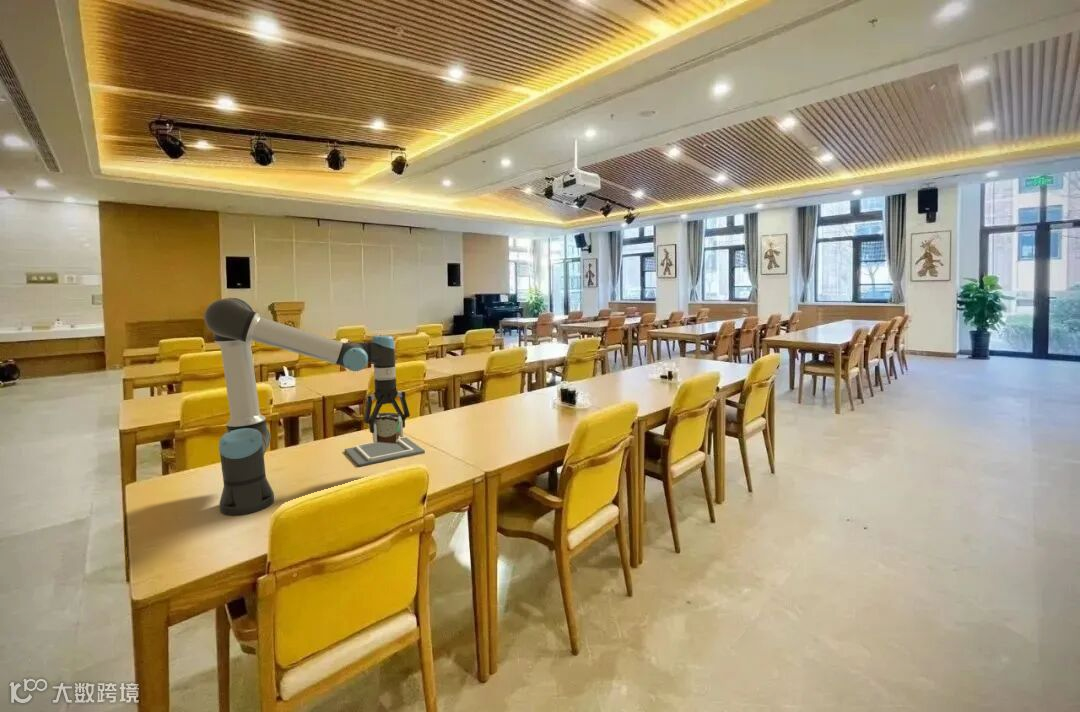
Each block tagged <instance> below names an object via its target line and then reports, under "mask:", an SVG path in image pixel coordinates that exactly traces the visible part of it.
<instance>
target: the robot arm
mask: <svg viewBox="0 0 1080 712" xmlns="http://www.w3.org/2000/svg"><path fill="white" fill-rule="evenodd" d="M204 323H205V325H206V327H207V329H208V330H209V331H210V332H212V335H213V340H214V343H215V344H217V345H219V347H220V352H221V358H222V365H223V372H224V374H223V375H224V381H225V388H226V393H227V402H228V409H229V415H230V419H229V420H228V421H227V422H226V424H225V425H226V433H224V434H223V435H222V436H221V437H220V439H219V440H218V442H219V443H218V444H219V445H218V451H219V455H220V464H221V465H220V466H221V472H222V473H221V474H222V480H223V488H222V492H221V496H220V500H219V511H220V513H221V514H223V515H225V516H240V515H247V514H252V513H255V512H259V511H261V510H263V509H266V508H267V507H269V506H271V505H272V504H273V503H274V502H275V500H274V499H275V492H274V491H273V489H272V486H271V484H270V482H269V481H268V479H267V474H266V464H265V454H266V452H267V450H268V448H269V446H270V442H271V433H270V430H269V428H268V425H267V418H266V416H265V415H263V414H261V413H260V412H261V411H260V403H259V402H260V401H259V395H258V387H257V382H256V381H257V380H256V373H255V367H254V366H255V365H254V359H253V358H254V357H253V352H252V345H251V344H252V343H253V342H257V343H259V344H260V343H261V344H263V345H265V346H266V345H267V346H271V347H274V348H278V349H281V350H285V351H288V352H292V353H296V354H299V355H301V356H305V357H309V358H313V359H316V360H320V361H323V362H327V363H330V364H333V365H337V366H340V367H344V368H345V369H348V371H351V372H359V371H362V370H364V369H365V368H366V366H367V365H368V364H371V363H372V364H373V378H374V380H373V382H374V393H373V394H370V395H369V394H366V395H365V398H366V405H365V409H364V416H363V422H364V423H365V424H368V425H369V426H368V428H369V432H370V433H371V435H372V441H374V442H377V430H376V424H375V423H374V422H375V420H376V417H377V415H378V413H380V410H381V409H382V407H383V405H387V404H391V405H392V406H393V408H394V410H395V411H396V412H395V413H397V414H400V416H401V419H402V421H401V422H400V428H399V438H404V428H406V421H405V420H406V419H407V418H409V417H410V416H411V414H410V411H409V407H408V404H407V400H406V392H405V391H403V390H400V391H398V389H397V378H396V376H397V375H396V373H397V372H396V347H395V338H394V337H393V336H392V335H389V334H383V335H382V334H381V335H377V334H376V335H373V336H372V338H371V341H362V342H361V341H359V342H358V341H357V342H356V341H355V342H349V341H346V342H343V341H339V340H337V339H333V338H331V337H327V336H323V335H319V334H316V333H313V332H310V331H306V330H304V329H300V328H297V327H293V326H291V325H287V324H283V323H282V322H278V321H275V320H271V319H268V318H264V317H261V316H260V314H259V313H258V312H256V311H254V309H253V307H252V306H251V305H250V304H249V303H248V302H246V301H245V300H243V299H241V298H236V297H226V298H222V299H221V298H220V299H218V300H215V301H213V302H212V303H211V304H209V305H208V306H207V307H206V309H205V311H204ZM397 396H398V397H399V399H400V403H401V407H402V409H401V407H400V406H399V404H398V402H397V401H396V397H397ZM374 399H375V400H376V402H375V406H374V408H373V410H372V406H373V401H374ZM371 410H372V411H371ZM370 415H371V417H370ZM369 418H370V419H369Z"/></svg>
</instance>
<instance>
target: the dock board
mask: <svg viewBox="0 0 1080 712" xmlns="http://www.w3.org/2000/svg"><path fill="white" fill-rule="evenodd" d="M425 451H426V450H424V449H423V448H422V447H421V446H419V445H417V444H416V443H414V442H413V441H412V440H410V439H409V438H407V437H406V436H405V437H399V442H398V443H397V444H388V443H376V442H372V441H371V442H367V443H362V444H357V445H355V446H353V447H349V448H344V453H346V454H347V455H348V457H349V458H350V459H351V460H352V461H353V462H354V463H355V464H356V465H357V466H358V468H360V467H365V466H371V465H374V464H379V463H384V461H385V462H388V461H394V460H398V458H399V459H403V457H404V458H407V457H412V456H417V455H422V454H425Z"/></svg>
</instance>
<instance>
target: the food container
mask: <svg viewBox="0 0 1080 712" xmlns="http://www.w3.org/2000/svg"><path fill="white" fill-rule="evenodd" d="M371 415H372V414H370V417H371ZM369 419H370V418H369ZM401 421H402V419H401V416H400V414H398V413H397V412H379V413H378V415H377V417H376V420H375V422H374V423H375V424H376V430H377V442H376V443H388V444H397V443H398V442H399V439H400V436H399V428H400V422H401ZM372 441H373V440H372ZM373 442H374V441H373Z"/></svg>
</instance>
